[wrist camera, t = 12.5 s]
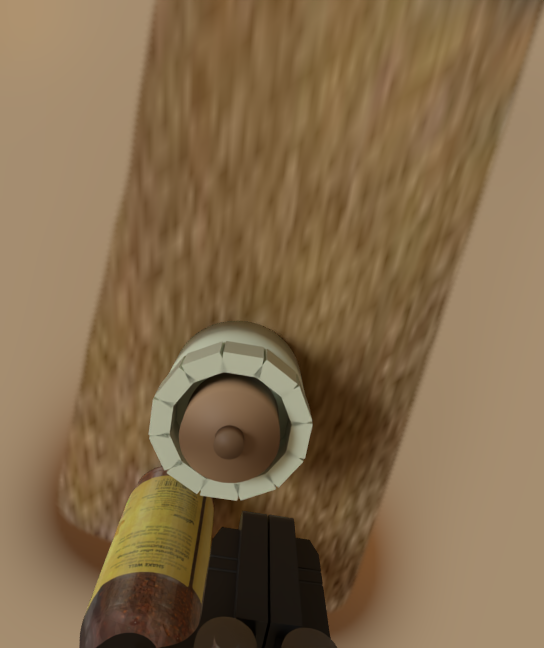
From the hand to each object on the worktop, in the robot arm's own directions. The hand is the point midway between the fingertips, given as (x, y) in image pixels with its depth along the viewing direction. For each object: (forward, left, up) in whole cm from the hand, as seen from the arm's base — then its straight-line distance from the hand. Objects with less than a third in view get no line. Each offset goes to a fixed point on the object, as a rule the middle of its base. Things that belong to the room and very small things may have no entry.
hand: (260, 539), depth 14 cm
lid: (+4, -1, -15) cm, 15 cm away
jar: (+4, -1, -20) cm, 20 cm away
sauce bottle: (+14, -4, -20) cm, 25 cm away
